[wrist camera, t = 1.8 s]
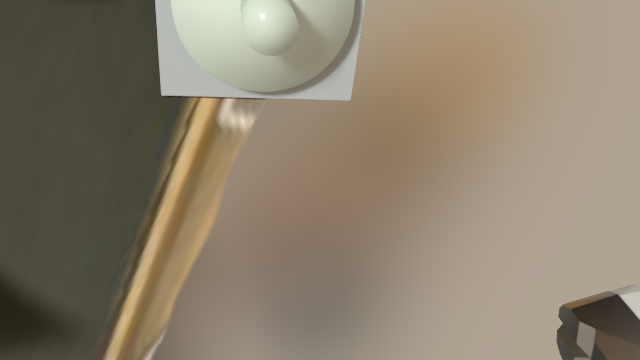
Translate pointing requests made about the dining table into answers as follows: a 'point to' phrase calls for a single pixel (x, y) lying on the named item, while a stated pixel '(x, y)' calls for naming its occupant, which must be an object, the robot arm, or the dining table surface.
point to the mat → (192, 80)
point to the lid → (263, 38)
